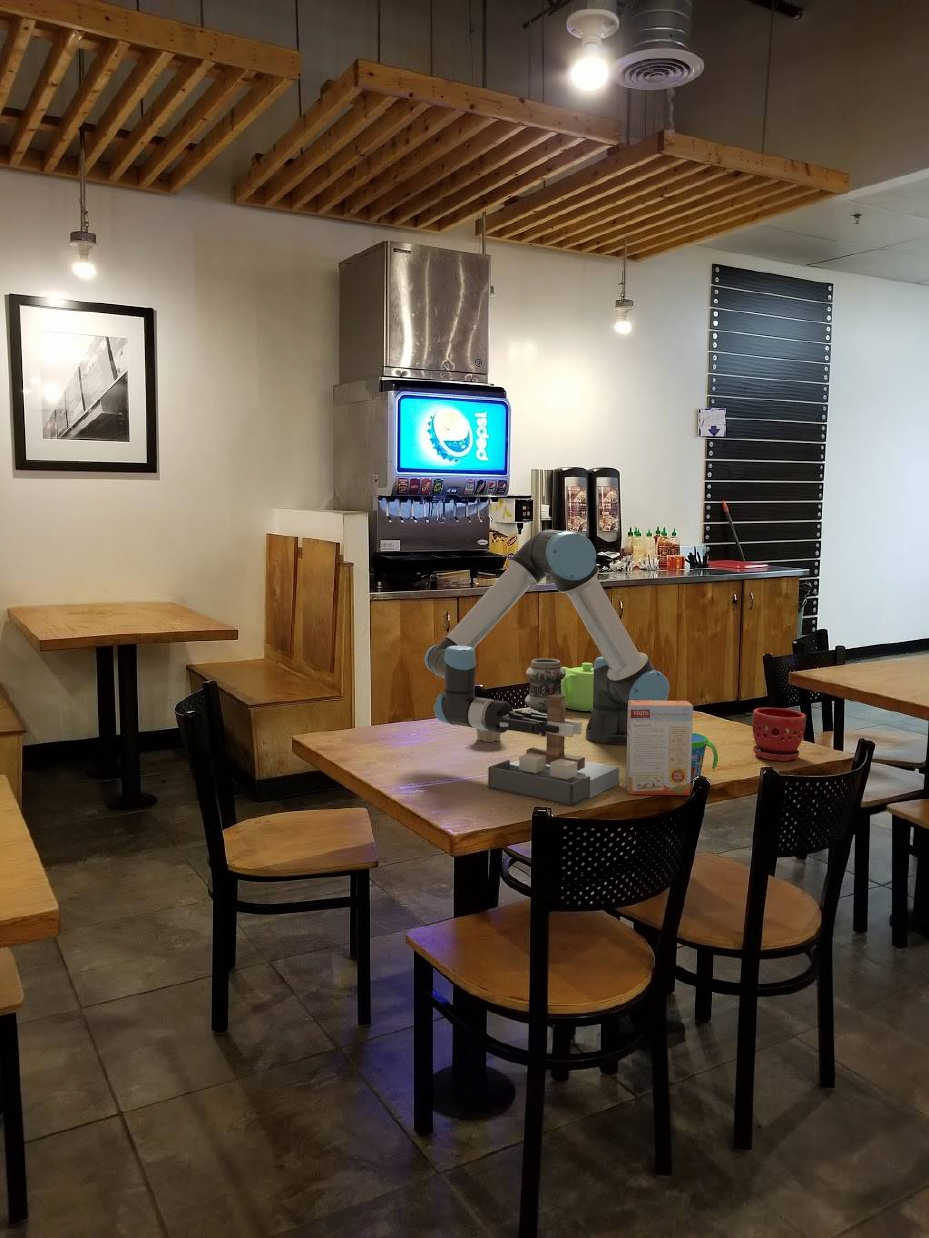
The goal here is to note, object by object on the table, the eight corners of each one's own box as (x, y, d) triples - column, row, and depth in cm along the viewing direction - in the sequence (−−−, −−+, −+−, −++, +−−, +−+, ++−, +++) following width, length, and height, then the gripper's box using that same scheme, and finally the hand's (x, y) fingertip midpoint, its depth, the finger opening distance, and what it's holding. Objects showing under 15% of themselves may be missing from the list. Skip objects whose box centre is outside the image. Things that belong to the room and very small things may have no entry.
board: (538, 767, 248) (539, 752, 247) (618, 783, 235) (619, 767, 234) (507, 780, 236) (507, 763, 236) (589, 797, 223) (590, 780, 223)
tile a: (529, 765, 235) (529, 752, 234) (546, 768, 232) (546, 755, 232) (519, 769, 231) (519, 757, 231) (535, 773, 229) (535, 760, 228)
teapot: (556, 713, 310) (557, 667, 308) (558, 700, 330) (559, 656, 328) (617, 715, 308) (619, 669, 306) (615, 702, 328) (617, 658, 326)
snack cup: (643, 777, 240) (645, 735, 239) (662, 768, 249) (664, 727, 248) (705, 789, 231) (707, 746, 230) (723, 779, 240) (725, 737, 239)
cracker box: (685, 788, 231) (689, 699, 229) (690, 796, 225) (694, 705, 223) (624, 787, 232) (627, 698, 229) (628, 795, 226) (631, 704, 223)
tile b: (560, 771, 230) (560, 758, 230) (577, 774, 227) (577, 761, 227) (549, 775, 226) (550, 762, 226) (567, 779, 224) (567, 766, 223)
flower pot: (511, 742, 273) (512, 711, 272) (479, 745, 269) (480, 713, 268) (497, 734, 282) (498, 704, 281) (466, 737, 278) (467, 706, 277)
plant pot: (789, 766, 252) (791, 719, 250) (741, 756, 261) (743, 711, 259) (812, 757, 261) (815, 711, 260) (765, 747, 270) (767, 704, 269)
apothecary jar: (547, 713, 309) (549, 655, 307) (573, 720, 299) (575, 661, 297) (516, 717, 303) (517, 659, 300) (541, 725, 293) (543, 664, 290)
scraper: (532, 757, 238) (534, 691, 236) (584, 767, 229) (586, 699, 227) (526, 760, 235) (527, 693, 233) (578, 770, 227) (580, 701, 225)
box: (507, 780, 236) (507, 759, 236) (589, 797, 223) (590, 776, 223) (488, 788, 230) (488, 767, 229) (571, 806, 217) (572, 784, 216)
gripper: (510, 724, 249) (593, 739, 235) (472, 736, 236) (558, 753, 222) (510, 695, 248) (594, 707, 234) (472, 705, 235) (558, 719, 221)
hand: (576, 729), depth 228 cm, fingers closed on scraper, 3 cm apart
